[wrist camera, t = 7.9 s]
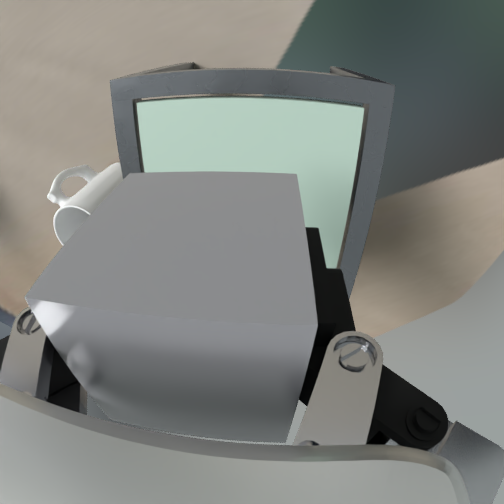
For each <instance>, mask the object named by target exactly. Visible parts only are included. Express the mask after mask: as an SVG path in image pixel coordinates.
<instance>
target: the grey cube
mask: <svg viewBox="0 0 504 504" xmlns="http://www.w3.org/2000/svg"><path fill="white" fill-rule="evenodd" d="M25 299H26V301H27V303H28V305H29V306H30V308H31V310H32V312H33V313H34V315H35V317H36V318H37V320H38V322H39V323H40V325H41V327H42V328H43V330H44V332H45V333H46V335H47V336H48V338H49V339H50V341H51V342H52V344H53V346H54V347H55V349H56V350H57V352H58V353H59V354H60V356H61V357H62V359H63V360H64V362H65V363H66V365H67V366H68V367H69V369H70V370H71V371H72V373H73V374H74V376H75V377H76V378H77V380H78V381H79V382H80V383H81V385H82V386H83V387H84V389H85V390H86V391H87V392H88V394H89V395H90V396H91V397H92V399H93V400H94V401H95V402H96V404H97V405H98V406H99V407H100V408H101V410H102V411H103V412H104V413H105V414H106V415H107V417H108V418H109V419H110V420H114V421H118V422H122V423H126V424H130V425H135V426H139V427H144V428H149V429H155V430H160V431H165V432H172V433H177V434H184V435H191V436H199V437H206V438H215V439H227V440H237V441H238V440H239V441H253V442H280V443H281V442H282V443H283V442H284V443H285V442H286V440H287V436H288V433H289V430H290V426H291V424H292V420H293V417H294V413H295V410H296V407H297V403H298V400H299V396H300V393H301V389H302V386H303V382H304V378H305V375H306V371H307V367H308V363H309V360H310V356H311V352H312V348H313V344H314V340H315V336H316V331H317V327H318V322H317V312H316V304H315V295H314V287H313V279H312V271H311V264H310V256H309V249H308V242H307V235H306V228H305V221H304V215H303V209H302V202H301V196H300V190H299V184H298V178H297V174H289V173H266V172H217V171H196V172H149V173H129V174H128V175H127V176H126V177H125V178H124V179H123V180H122V181H121V182H120V183H119V184H118V185H117V186H116V187H115V188H114V190H113V191H112V192H111V193H110V194H109V195H108V196H107V197H106V198H105V199H104V200H103V201H102V202H101V203H100V204H99V205H98V207H97V208H96V209H95V210H94V211H93V212H92V213H91V214H90V215H89V216H88V218H87V219H86V220H85V221H84V222H83V223H82V224H81V226H80V227H79V228H78V229H77V230H76V231H75V233H74V234H73V235H72V236H71V237H70V238H69V240H68V241H67V242H66V243H65V244H64V246H63V247H62V248H61V249H60V251H59V252H58V253H57V254H56V256H55V257H54V258H53V259H52V261H51V262H50V263H49V265H48V266H47V267H46V268H45V270H44V271H43V272H42V274H41V275H40V276H39V278H38V279H37V280H36V282H35V283H34V285H33V286H32V287H31V289H30V290H29V291H28V293H27V294H26V296H25Z"/></svg>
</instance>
